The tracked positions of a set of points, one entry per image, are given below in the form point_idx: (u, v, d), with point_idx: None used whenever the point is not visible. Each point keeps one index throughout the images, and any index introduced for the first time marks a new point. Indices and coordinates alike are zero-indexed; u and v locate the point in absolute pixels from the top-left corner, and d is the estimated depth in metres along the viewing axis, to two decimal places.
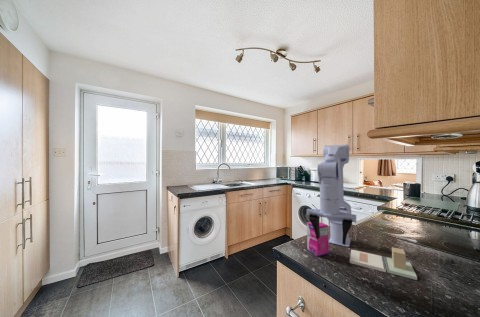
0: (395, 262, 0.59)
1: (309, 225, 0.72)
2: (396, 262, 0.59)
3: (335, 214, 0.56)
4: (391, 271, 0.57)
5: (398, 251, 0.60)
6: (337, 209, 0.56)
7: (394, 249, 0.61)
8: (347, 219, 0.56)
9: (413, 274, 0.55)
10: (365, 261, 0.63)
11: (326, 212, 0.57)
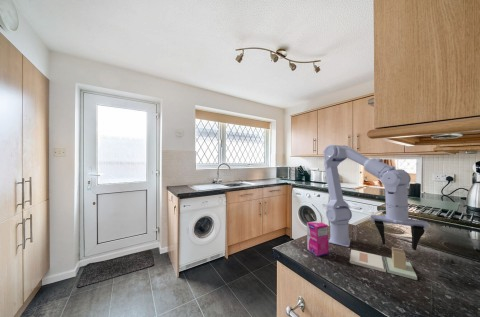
0: (395, 262, 0.59)
1: (309, 225, 0.72)
2: (396, 262, 0.59)
3: (406, 220, 0.58)
4: (391, 271, 0.57)
5: (398, 251, 0.60)
6: (407, 216, 0.58)
7: (394, 249, 0.61)
8: (418, 225, 0.57)
9: (413, 274, 0.55)
10: (365, 261, 0.63)
11: (396, 218, 0.59)
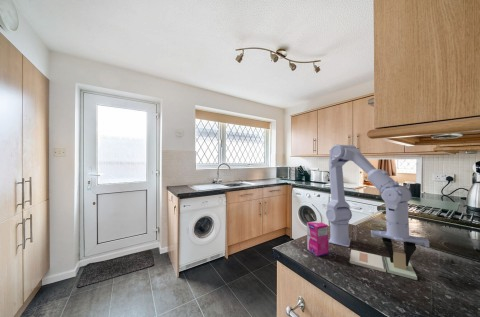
0: (395, 262, 0.59)
1: (309, 225, 0.72)
2: (396, 262, 0.59)
3: (406, 238, 0.57)
4: (391, 271, 0.57)
5: (398, 251, 0.60)
6: (408, 233, 0.58)
7: (394, 249, 0.61)
8: (418, 243, 0.57)
9: (413, 274, 0.55)
10: (365, 261, 0.63)
11: (396, 236, 0.58)
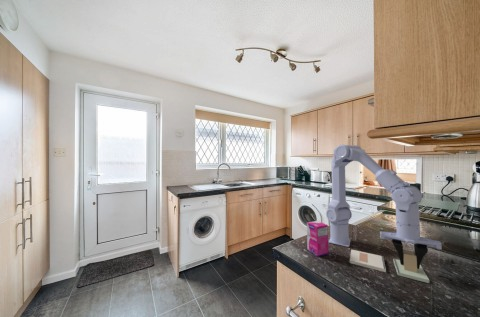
0: (406, 265, 0.57)
1: (309, 225, 0.72)
2: (406, 264, 0.57)
3: (417, 240, 0.56)
4: (402, 274, 0.56)
5: (409, 253, 0.58)
6: (419, 235, 0.56)
7: (405, 251, 0.59)
8: (430, 245, 0.56)
9: (425, 277, 0.54)
10: (365, 261, 0.63)
11: (407, 238, 0.57)
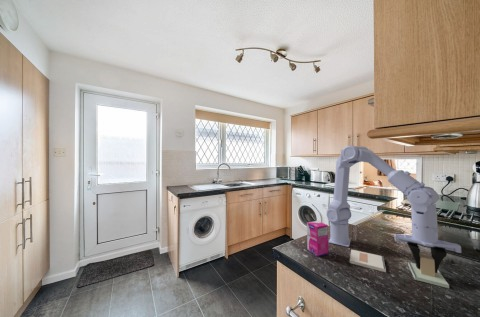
0: (423, 269, 0.55)
1: (309, 225, 0.72)
2: (423, 268, 0.55)
3: (435, 243, 0.54)
4: (419, 278, 0.54)
5: (426, 256, 0.56)
6: (437, 238, 0.54)
7: (421, 255, 0.57)
8: (448, 248, 0.53)
9: (444, 282, 0.52)
10: (365, 261, 0.63)
11: (424, 240, 0.55)
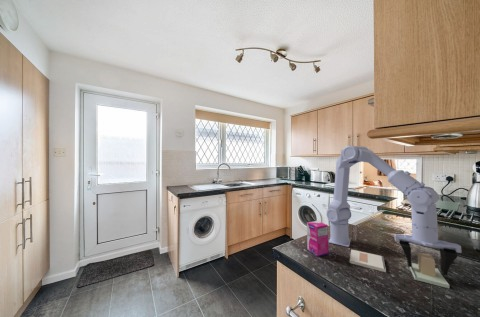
0: (423, 269, 0.55)
1: (309, 225, 0.72)
2: (424, 268, 0.55)
3: (435, 243, 0.54)
4: (419, 278, 0.54)
5: (426, 256, 0.56)
6: (437, 238, 0.54)
7: (421, 255, 0.57)
8: (449, 248, 0.53)
9: (444, 282, 0.51)
10: (365, 261, 0.63)
11: (424, 240, 0.55)
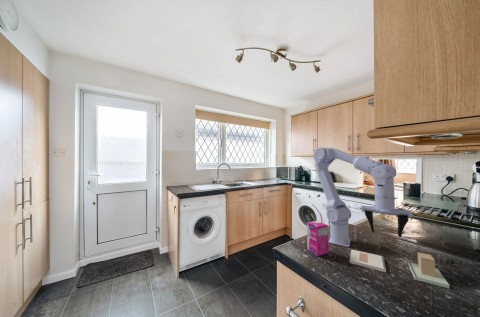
0: (423, 269, 0.55)
1: (309, 225, 0.72)
2: (424, 268, 0.55)
3: (392, 210, 0.63)
4: (419, 278, 0.54)
5: (426, 256, 0.56)
6: (393, 206, 0.64)
7: (421, 255, 0.57)
8: (403, 214, 0.63)
9: (444, 282, 0.51)
10: (365, 261, 0.63)
11: (383, 208, 0.65)
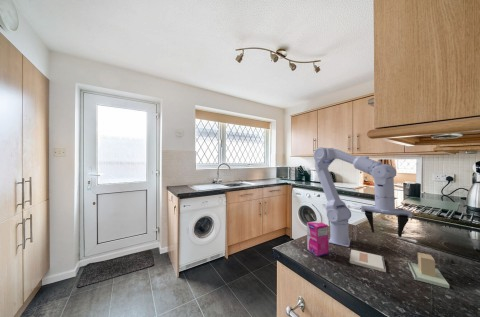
0: (423, 269, 0.55)
1: (309, 225, 0.72)
2: (424, 268, 0.55)
3: (392, 210, 0.63)
4: (419, 278, 0.54)
5: (426, 256, 0.56)
6: (393, 206, 0.64)
7: (421, 255, 0.57)
8: (403, 214, 0.63)
9: (444, 282, 0.51)
10: (365, 261, 0.63)
11: (383, 208, 0.65)
